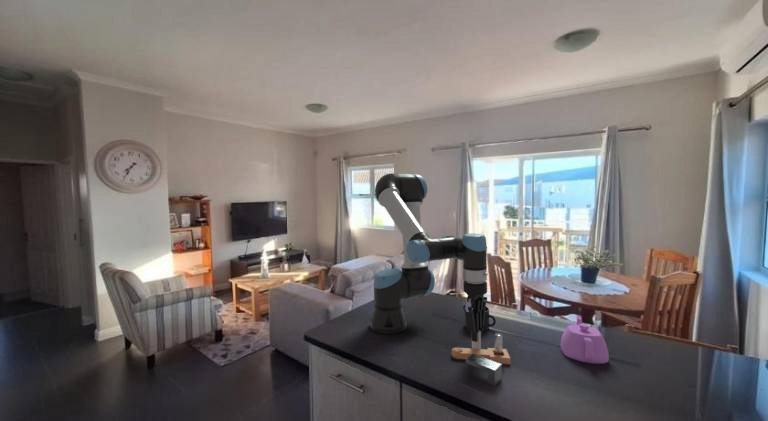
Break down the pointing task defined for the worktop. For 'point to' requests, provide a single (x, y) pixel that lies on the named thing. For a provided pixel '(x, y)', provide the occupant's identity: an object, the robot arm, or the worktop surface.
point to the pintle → (498, 344)
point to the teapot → (584, 343)
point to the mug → (486, 321)
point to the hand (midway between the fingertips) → (476, 349)
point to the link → (482, 354)
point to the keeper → (487, 367)
